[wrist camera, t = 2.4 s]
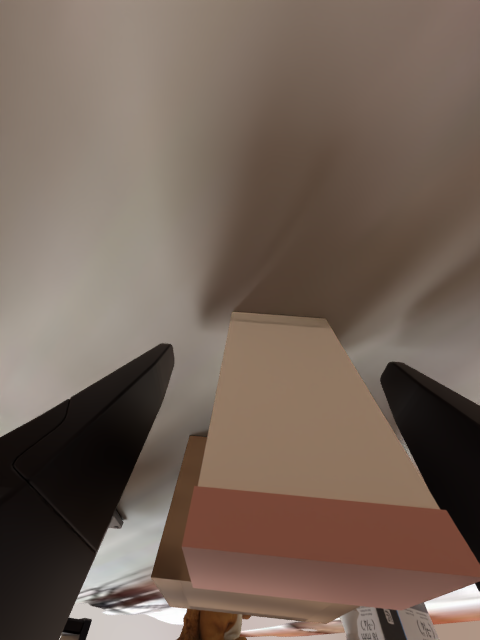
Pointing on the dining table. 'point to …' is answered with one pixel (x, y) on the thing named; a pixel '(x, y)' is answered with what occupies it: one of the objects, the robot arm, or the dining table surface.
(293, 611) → the box
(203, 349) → the dining table surface
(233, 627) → the stuffed squirrel
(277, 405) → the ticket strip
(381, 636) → the label tape cartridge
